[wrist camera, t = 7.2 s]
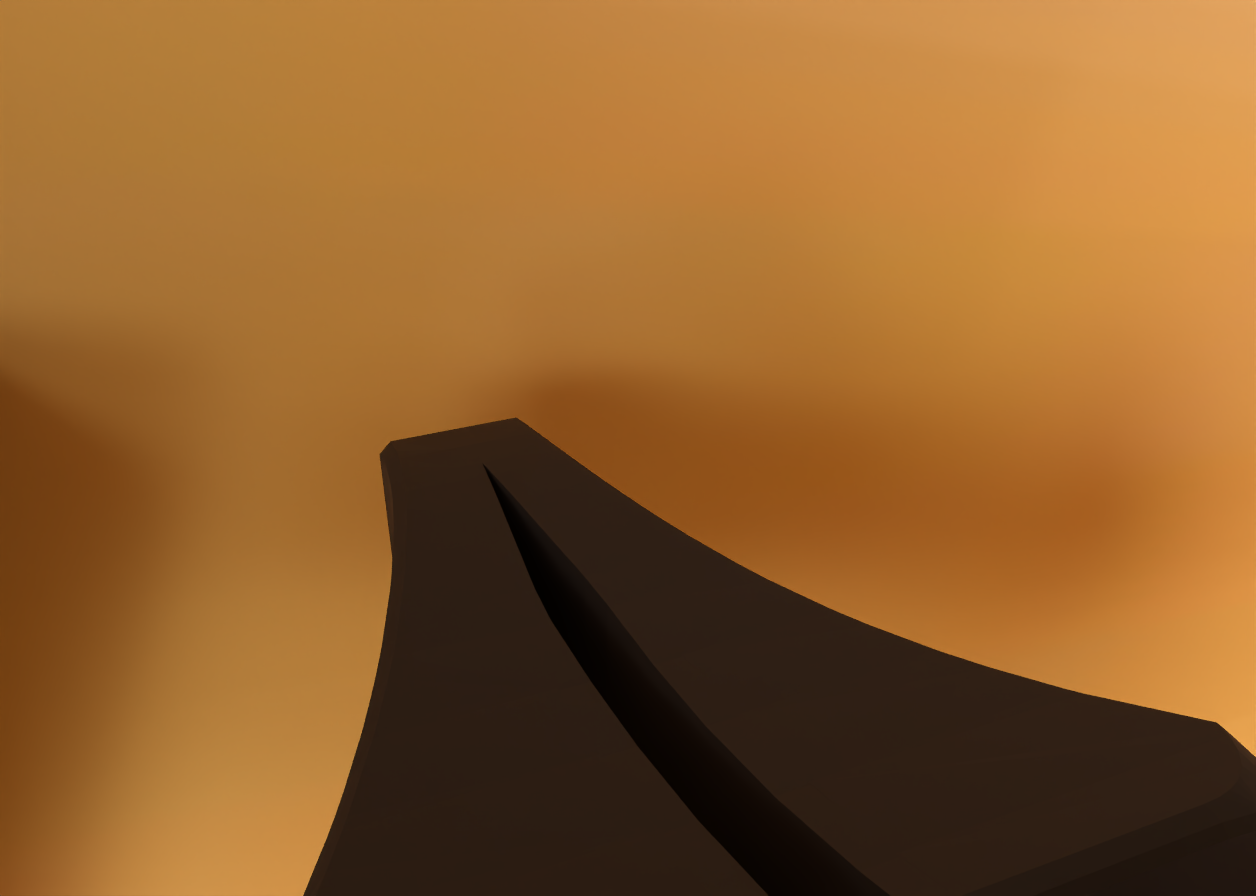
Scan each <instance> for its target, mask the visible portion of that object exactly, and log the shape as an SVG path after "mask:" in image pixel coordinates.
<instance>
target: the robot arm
mask: <svg viewBox="0 0 1256 896" xmlns="http://www.w3.org/2000/svg"><path fill="white" fill-rule="evenodd" d="M380 461H381V469H382V477H383V485H384V493H385V501H386V510H387V518H388V526H389V534H390V542H391V550H392V577H391V587H390V595H389V601H388V608H387V615H386V622H385V629H384V635H383V642H382V648H381V654H380V658H379V663H378V668H377V673H376V678H375V682H374V687H373V691H372V695H371V699H370V703H369V707H368V711H367V715H366V719H365V723H364V727H363V730H362V734H361V737H360V741H359V744H358V747H357V750H356V754H355V757H354V760H353V763H352V766H351V770H350V773H349V776H348V779H347V783H346V786H345V789H344V792H343V795H342V798H341V801H340V804H339V807H338V810H337V812H336V815H335V818H334V821H333V824H332V826H331V829H330V832H329V834H328V837H327V839H326V842H325V844H324V847H323V849H322V851H321V854H320V856H319V859H318V861H317V864H316V866H315V868H314V871H313V873H312V876H311V878H310V881H309V883H308V885H307V888H306V890H305V893H304V895H303V896H1256V757H1255V756H1254V755H1253V754H1251V753H1250V752H1249V751H1248V750H1247V749H1246V748H1245V747H1244V746H1243V745H1242V744H1241V743H1240V742H1238V741H1237V740H1236V739H1235V738H1234V737H1233V736H1232V735H1231V734H1229V733H1228V732H1227V731H1226V730H1225V729H1224V728H1223V727H1221V726H1220V725H1219V724H1218V723H1216V722H1211V721H1207V720H1202V719H1198V718H1193V717H1188V716H1184V715H1179V714H1175V713H1170V712H1166V711H1161V710H1156V709H1152V708H1147V707H1143V706H1138V705H1133V704H1129V703H1124V702H1120V701H1115V700H1110V699H1106V698H1101V697H1097V696H1092V695H1087V694H1083V693H1079V692H1075V691H1071V690H1067V689H1063V688H1060V687H1056V686H1053V685H1049V684H1046V683H1042V682H1039V681H1035V680H1032V679H1028V678H1025V677H1021V676H1018V675H1014V674H1011V673H1007V672H1004V671H1000V670H996V669H993V668H990V667H986V666H983V665H980V664H977V663H974V662H971V661H968V660H965V659H962V658H959V657H956V656H952V655H949V654H946V653H943V652H940V651H937V650H935V649H932V648H929V647H926V646H924V645H921V644H918V643H916V642H913V641H910V640H908V639H905V638H902V637H900V636H897V635H894V634H892V633H889V632H886V631H883V630H881V629H878V628H875V627H873V626H870V625H868V624H865V623H863V622H860V621H858V620H856V619H853V618H851V617H848V616H846V615H843V614H841V613H839V612H836V611H834V610H832V609H829V608H827V607H825V606H823V605H821V604H819V603H817V602H814V601H812V600H810V599H808V598H806V597H804V596H802V595H799V594H797V593H795V592H793V591H791V590H789V589H787V588H785V587H782V586H780V585H778V584H776V583H774V582H772V581H770V580H768V579H766V578H764V577H762V576H760V575H758V574H756V573H754V572H752V571H750V570H748V569H746V568H745V567H743V566H741V565H739V564H737V563H735V562H734V561H732V560H730V559H728V558H727V557H725V556H723V555H721V554H720V553H718V552H716V551H714V550H713V549H711V548H709V547H707V546H706V545H704V544H702V543H700V542H699V541H697V540H695V539H693V538H692V537H690V536H688V535H686V534H685V533H683V532H682V531H680V530H678V529H677V528H675V527H674V526H672V525H670V524H669V523H667V522H665V521H664V520H662V519H661V518H659V517H658V516H656V515H654V514H653V513H651V512H650V511H648V510H647V509H645V508H644V507H642V506H641V505H639V504H638V503H636V502H635V501H633V500H632V499H630V498H629V497H627V496H626V495H624V494H623V493H621V492H620V491H618V490H617V489H615V488H614V487H612V486H611V485H609V484H608V483H607V482H605V481H604V480H602V479H601V478H599V477H598V476H597V475H595V474H594V473H592V472H591V471H590V470H588V469H587V468H585V467H584V466H583V465H581V464H580V463H578V462H577V461H576V460H574V459H573V458H572V457H570V456H569V455H567V454H566V453H565V452H563V451H562V450H561V449H559V448H558V447H556V446H555V445H554V444H552V443H551V442H550V441H548V440H547V439H545V438H544V437H543V436H541V435H540V434H539V433H537V432H536V431H535V430H533V429H532V428H530V427H529V426H528V425H526V424H525V423H523V422H522V421H520V420H519V419H518V418H512V419H506V420H501V421H496V422H491V423H485V424H480V425H475V426H469V427H464V428H459V429H454V430H448V431H443V432H438V433H433V434H427V435H422V436H417V437H411V438H406V439H401V440H396V441H391V442H390V443H389V444H388V445H387V446H386V447H385V449H384V450H383V451H382V452H381V453H380Z"/></svg>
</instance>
